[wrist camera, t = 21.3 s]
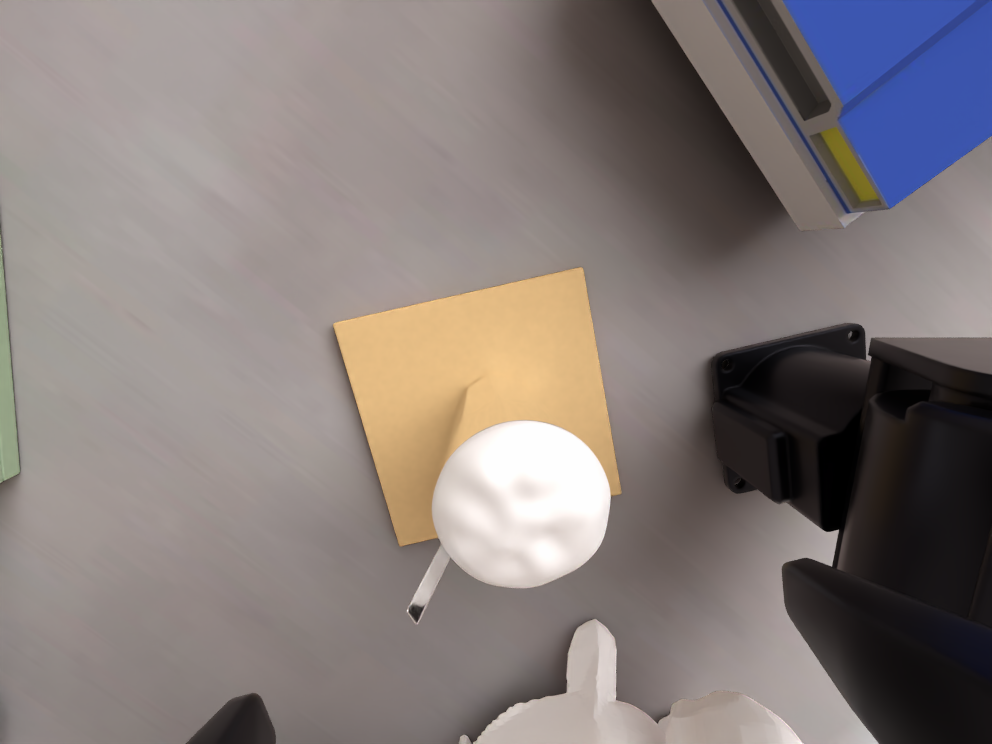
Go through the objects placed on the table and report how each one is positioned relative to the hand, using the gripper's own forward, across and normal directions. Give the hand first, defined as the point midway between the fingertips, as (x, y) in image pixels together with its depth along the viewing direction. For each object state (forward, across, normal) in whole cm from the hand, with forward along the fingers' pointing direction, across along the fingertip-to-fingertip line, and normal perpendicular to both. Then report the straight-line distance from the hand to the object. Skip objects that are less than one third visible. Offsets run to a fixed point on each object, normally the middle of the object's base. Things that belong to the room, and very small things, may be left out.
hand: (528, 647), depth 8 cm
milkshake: (+13, 0, 0) cm, 13 cm away
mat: (+13, 0, 0) cm, 13 cm away
